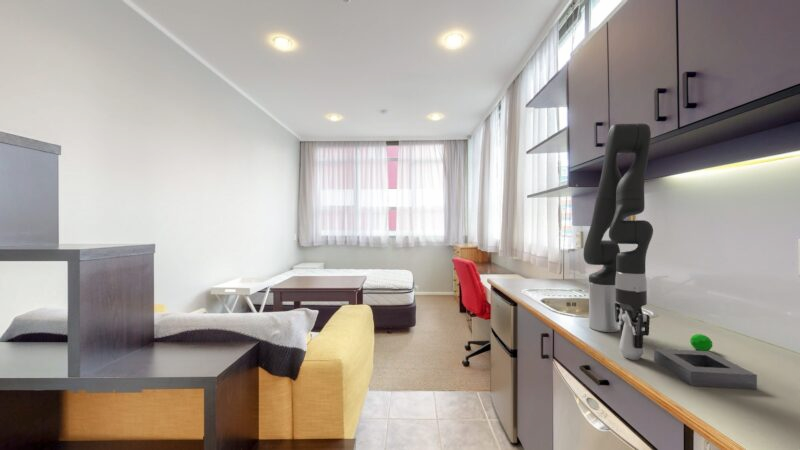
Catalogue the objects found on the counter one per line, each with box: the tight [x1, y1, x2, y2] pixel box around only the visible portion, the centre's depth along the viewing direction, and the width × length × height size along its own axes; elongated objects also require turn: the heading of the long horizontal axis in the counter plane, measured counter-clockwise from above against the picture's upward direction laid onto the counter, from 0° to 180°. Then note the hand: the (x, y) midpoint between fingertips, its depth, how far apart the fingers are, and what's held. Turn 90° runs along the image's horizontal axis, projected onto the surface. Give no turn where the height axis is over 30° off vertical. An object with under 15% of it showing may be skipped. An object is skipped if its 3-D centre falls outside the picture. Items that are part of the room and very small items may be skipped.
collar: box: [653, 348, 758, 391], centre depth 84 cm, size 14×14×4 cm
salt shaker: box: [619, 313, 644, 361], centre depth 94 cm, size 6×6×13 cm
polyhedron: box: [689, 333, 713, 351], centre depth 98 cm, size 5×5×5 cm
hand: (631, 343), depth 94 cm, fingers open, 6 cm apart
